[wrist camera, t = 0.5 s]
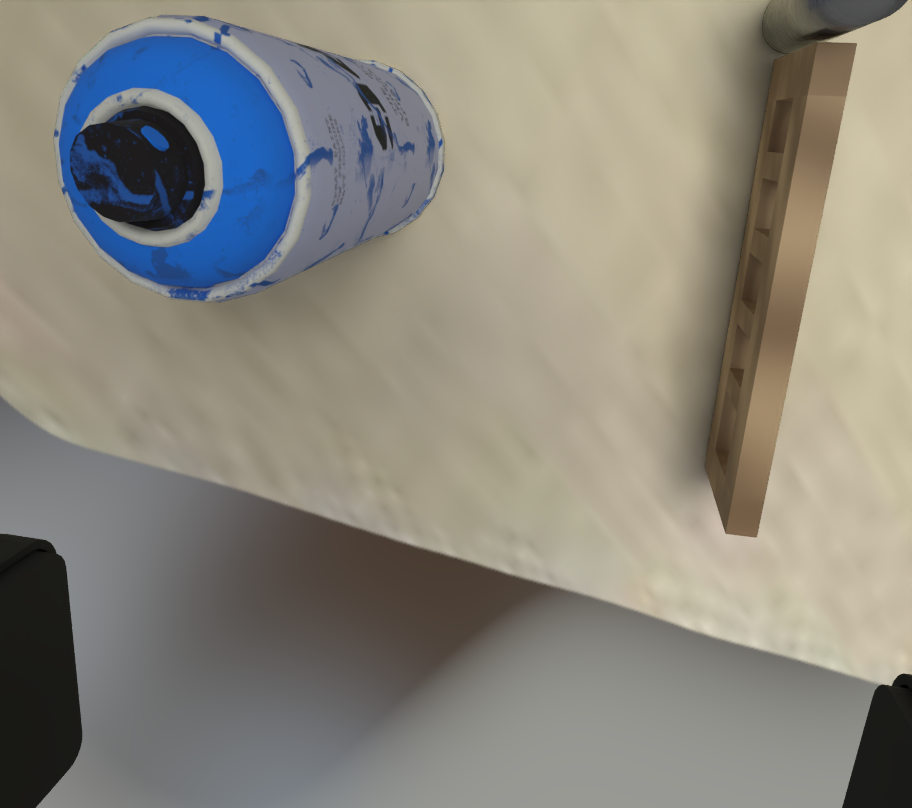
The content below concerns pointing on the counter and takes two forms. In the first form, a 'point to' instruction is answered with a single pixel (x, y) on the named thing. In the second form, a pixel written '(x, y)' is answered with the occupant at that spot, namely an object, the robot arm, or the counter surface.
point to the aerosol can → (237, 155)
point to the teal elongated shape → (819, 20)
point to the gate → (774, 274)
